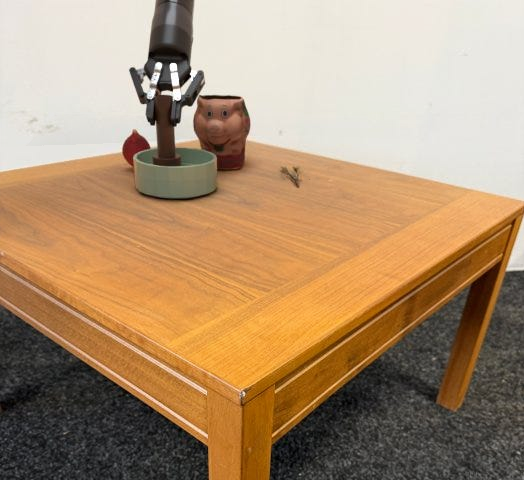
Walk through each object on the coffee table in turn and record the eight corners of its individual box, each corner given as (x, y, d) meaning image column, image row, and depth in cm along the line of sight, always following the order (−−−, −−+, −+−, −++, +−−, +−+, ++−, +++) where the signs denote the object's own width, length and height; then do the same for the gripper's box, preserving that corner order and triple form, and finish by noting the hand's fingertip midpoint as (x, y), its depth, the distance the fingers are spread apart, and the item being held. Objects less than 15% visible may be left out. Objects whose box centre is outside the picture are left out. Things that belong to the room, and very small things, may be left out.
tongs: (291, 187, 108) (292, 177, 107) (279, 173, 119) (279, 163, 118) (312, 187, 109) (313, 177, 108) (298, 172, 120) (298, 163, 119)
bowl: (133, 201, 97) (130, 167, 94) (138, 177, 110) (136, 146, 107) (219, 200, 99) (219, 167, 96) (214, 177, 112) (214, 147, 109)
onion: (158, 169, 116) (155, 129, 111) (136, 174, 112) (132, 133, 108) (140, 164, 119) (137, 125, 115) (118, 169, 115) (114, 128, 111)
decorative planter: (197, 152, 130) (195, 87, 122) (248, 153, 131) (249, 89, 123) (192, 175, 113) (189, 101, 106) (251, 176, 114) (252, 103, 106)
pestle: (153, 181, 100) (147, 98, 92) (154, 173, 104) (148, 93, 97) (182, 181, 101) (178, 98, 93) (181, 173, 105) (178, 94, 98)
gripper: (127, 20, 96) (116, 107, 92) (208, 24, 95) (200, 111, 92) (137, 52, 103) (127, 134, 99) (212, 55, 103) (205, 138, 99)
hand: (162, 122), depth 95 cm, fingers closed on pestle, 3 cm apart
